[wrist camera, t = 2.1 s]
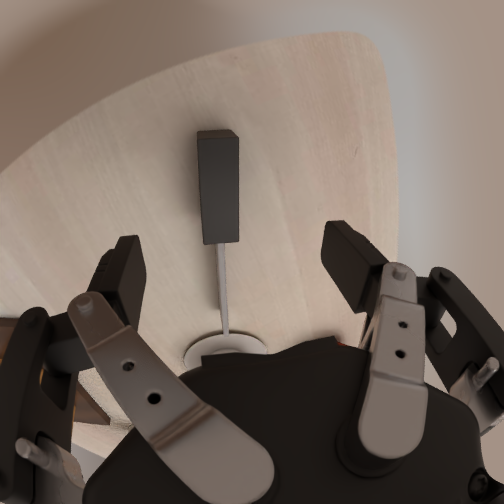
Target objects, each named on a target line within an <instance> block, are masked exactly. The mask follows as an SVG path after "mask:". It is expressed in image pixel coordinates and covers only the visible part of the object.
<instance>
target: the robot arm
mask: <svg viewBox="0 0 504 504" xmlns="http://www.w3.org/2000/svg"><path fill="white" fill-rule="evenodd" d="M321 260H322V264H323V266H324V267H325V269H326V270H327V272H328V273H329V275H330V276H331V278H332V279H333V281H334V282H335V284H336V285H337V287H338V288H339V290H340V291H341V293H342V295H343V296H344V298H345V299H346V301H347V302H348V304H349V305H350V307H351V309H352V310H353V312H354V313H355V314H356V313H361V312H366V313H367V315H366V318H365V321H364V325H363V329H362V334H361V338H360V342H359V346H358V348H357V347H352V346H346V345H338V343H337V341H336V339H335V337H334V336H331V337H326V338H321V339H316V340H311V341H305V342H302V343H300V344H298V345H295V346H293V347H291V348H288V349H286V350H283V351H281V352H278V353H275V354H254V353H241V352H232V353H222V354H212V355H201V365H202V366H199V367H196V368H193V369H191V370H189V371H187V372H185V373H183V374H181V375H180V376H179V377H177V376H176V375H175V374H174V373H173V372H172V371H171V370H170V369H169V368H168V367H167V366H166V364H165V363H164V362H163V361H162V360H161V359H160V358H159V357H158V356H157V355H156V354H155V353H154V351H153V350H152V349H151V348H150V347H149V346H148V345H147V344H146V342H145V341H144V340H143V339H142V338H141V337H140V335H139V334H138V333H137V331H138V325H139V318H140V312H141V306H142V301H143V295H144V290H145V285H146V267H145V263H144V258H143V254H142V249H141V244H140V240H139V237H138V235H130V236H121V237H120V238H119V240H118V242H117V244H116V246H115V249H109V250H108V251H107V252H106V253H105V254H104V255H103V256H102V257H101V260H100V262H99V264H98V266H97V268H96V270H95V273H94V275H93V277H92V280H91V282H90V284H89V287H88V289H87V291H86V292H85V293H82V294H80V295H78V296H76V297H75V298H74V299H73V300H72V301H71V302H70V304H69V306H68V309H67V312H65V313H61V314H58V315H55V316H51V317H49V315H48V313H47V311H46V310H45V309H44V308H42V307H33V308H31V309H29V310H27V311H25V312H24V313H23V314H22V315H21V316H20V318H19V319H18V321H17V323H16V326H15V328H14V330H13V333H12V335H11V337H10V340H9V342H8V345H7V348H6V350H5V353H4V356H3V359H2V361H1V364H0V502H2V503H5V504H504V484H502V483H500V482H498V481H496V480H494V479H493V478H492V477H490V476H489V474H488V473H487V471H486V469H485V467H484V463H483V458H482V452H481V443H480V436H483V435H484V434H486V433H487V432H488V431H489V430H491V429H492V428H493V427H495V426H496V425H497V424H498V423H499V422H501V421H502V420H503V419H504V331H503V330H502V329H501V327H500V326H499V325H498V324H497V322H496V321H495V320H494V319H493V317H492V316H491V315H490V314H489V313H488V311H487V310H486V309H485V308H484V306H483V305H482V304H481V303H480V302H479V301H478V300H477V298H476V297H475V296H474V295H473V294H472V293H471V291H470V290H468V288H467V287H466V286H465V285H464V284H463V283H462V282H461V281H460V279H459V278H458V277H457V276H456V275H455V274H454V273H452V272H451V271H450V270H448V269H445V268H442V267H434V268H432V270H431V272H430V274H429V277H417V276H416V275H415V273H414V271H413V270H412V269H411V268H409V267H408V266H406V265H404V264H401V263H398V262H389V261H388V260H387V259H386V258H385V257H384V256H383V255H382V254H381V252H380V251H379V250H378V249H377V248H375V246H374V245H373V244H372V243H370V241H369V240H368V239H367V238H366V237H365V236H364V235H362V234H360V233H358V232H357V231H355V230H353V229H352V228H351V227H350V226H349V225H348V224H347V223H346V222H345V221H344V220H338V221H327V222H326V225H325V229H324V236H323V242H322V248H321ZM445 310H447V311H448V313H449V314H450V315H451V316H452V318H453V319H454V320H455V322H456V326H457V330H456V333H455V335H454V336H453V338H452V337H451V335H450V334H449V333H448V331H447V330H446V328H445V327H444V326H443V324H442V323H441V321H440V319H441V318H442V316H443V314H444V312H445ZM425 353H426V355H427V356H428V358H429V360H430V361H431V363H432V365H433V366H434V368H435V370H436V371H437V373H438V375H439V377H440V379H441V380H442V382H443V384H444V386H445V388H446V389H447V391H448V393H449V394H447V393H445V392H443V391H441V390H439V389H437V388H435V387H433V386H431V385H429V384H427V383H425V382H424V366H425V365H424V364H425ZM42 367H44V371H43V375H42V379H41V383H40V375H41V371H42ZM93 367H95V368H96V370H97V372H98V373H99V375H100V377H101V378H102V380H103V381H104V383H105V385H106V386H107V388H108V389H109V391H110V392H111V394H112V395H113V397H114V398H115V400H116V401H117V403H118V404H119V405H120V407H121V408H122V410H123V411H124V412H125V414H126V415H127V417H128V418H129V419H130V421H131V422H132V423H133V425H134V427H133V428H132V429H131V430H130V431H129V433H128V434H127V435H126V436H125V437H124V439H123V440H122V441H121V442H120V443H119V444H118V446H117V447H116V448H115V449H114V450H113V451H112V453H111V454H110V455H109V456H108V457H107V458H106V459H105V461H104V462H103V463H102V464H101V465H100V466H99V468H98V469H97V470H96V471H95V472H94V473H93V474H92V476H91V477H90V478H89V480H88V481H87V483H86V484H85V482H84V480H83V475H82V473H81V468H80V465H79V463H78V461H77V459H76V458H75V457H74V456H73V455H72V454H71V436H72V422H73V412H74V403H75V395H76V388H77V381H78V375H79V371H83V370H86V369H90V368H93Z"/></svg>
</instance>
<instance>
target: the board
mask: <svg viewBox="0 0 504 504" xmlns="http://www.w3.org/2000/svg"><path fill="white" fill-rule="evenodd" d="M17 321H18V319H11V318H0V359H3V356H4V353H5V350H6V348H7V345H8V342H9V340H10V337H11V335H12V333H13V330H14V328H15V326H16V323H17ZM42 369H43V371H44V367H42ZM74 406H75V407H76V408H75V414H74V422H82V423H90V424H99V425H110V418H109V416H108V415H107V414H106V413H105V412H104V411H103V410H102V409H101V408H100V407H99V406H98V404H97V403H96V402H95V401H94V400H93V399H92V398H91V396H90V395H89V394H88V393H87V392H86V390H85V389H84V388H83V387H82V385H81V384H80V383H79V382H78V381H77V388H76V395H75V403H74Z"/></svg>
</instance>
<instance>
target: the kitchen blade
mask: <svg viewBox="0 0 504 504" xmlns="http://www.w3.org/2000/svg"><path fill="white" fill-rule="evenodd" d="M197 149H198V171H199V190H200V206H201V220H202V233H203V244H204V245H208V244H215V250H216V265H217V280H218V293H219V306H220V315H221V322H222V328H223V335H224V337H228V336H229V324H228V307H227V288H226V267H225V244H224V243H232V242H239V137H238V136H237V135H236V134H235V133H234V132H233V131H232V130H208V131H198V132H197Z"/></svg>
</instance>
